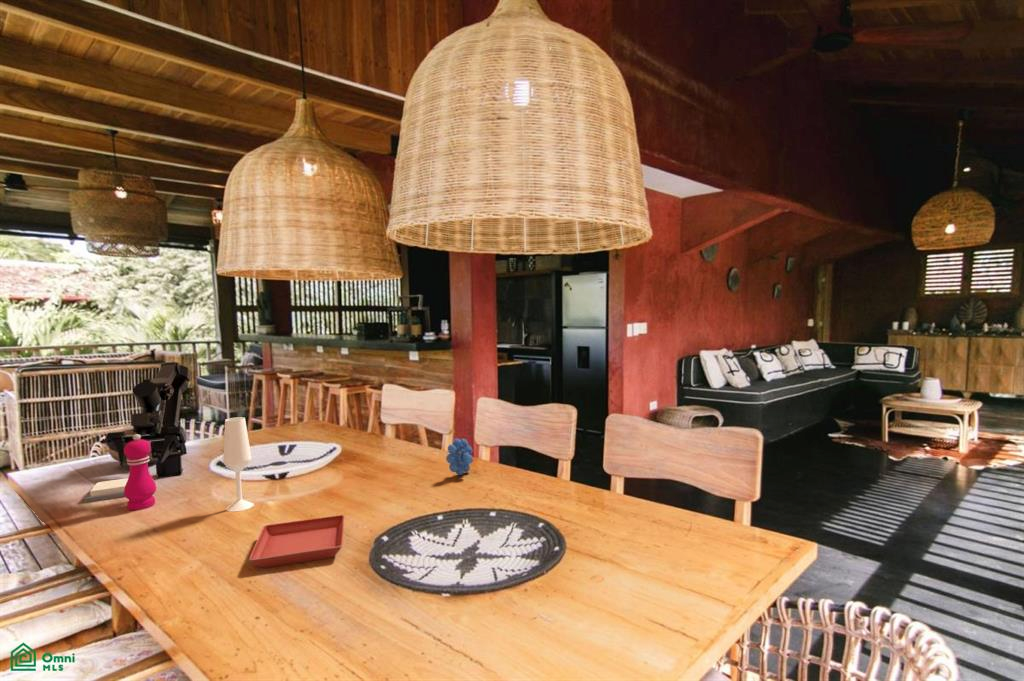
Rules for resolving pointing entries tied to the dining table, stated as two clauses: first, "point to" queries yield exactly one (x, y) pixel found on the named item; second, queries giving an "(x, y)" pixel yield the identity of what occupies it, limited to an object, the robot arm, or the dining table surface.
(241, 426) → the champagne flute
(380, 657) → the dining table surface
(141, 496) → the pepper mill
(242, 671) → the dining table surface
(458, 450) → the grapes
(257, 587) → the dining table surface
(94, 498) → the grey square coaster
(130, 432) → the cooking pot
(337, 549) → the plant saucer
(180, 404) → the robot arm
